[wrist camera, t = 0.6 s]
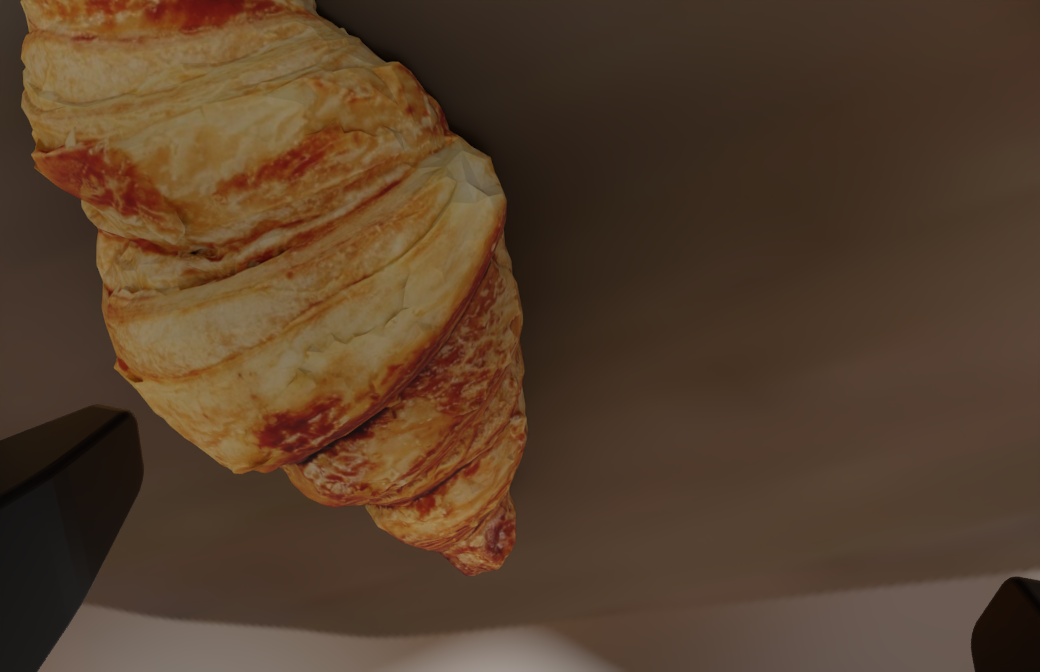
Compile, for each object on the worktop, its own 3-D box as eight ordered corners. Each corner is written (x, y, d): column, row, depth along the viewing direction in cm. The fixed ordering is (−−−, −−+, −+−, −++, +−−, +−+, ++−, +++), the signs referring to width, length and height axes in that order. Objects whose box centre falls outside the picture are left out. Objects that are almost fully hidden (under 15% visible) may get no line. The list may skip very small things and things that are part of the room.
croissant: (52, -182, 23) (-286, -52, 19) (283, -399, 16) (-168, -275, 12) (452, 456, 33) (294, 644, 28) (704, 493, 26) (547, 749, 21)
